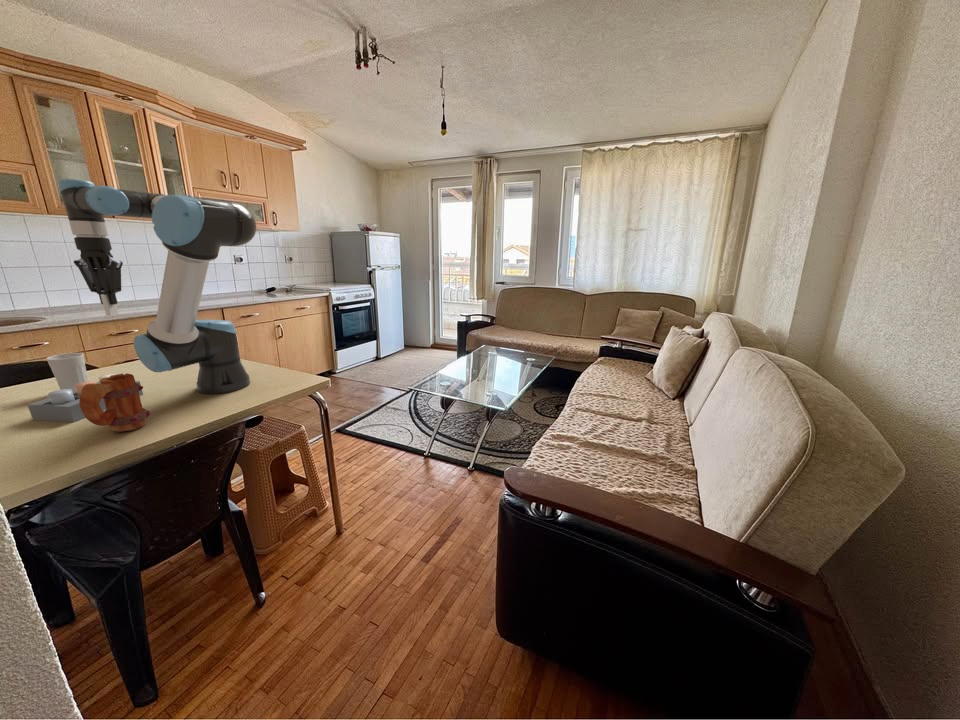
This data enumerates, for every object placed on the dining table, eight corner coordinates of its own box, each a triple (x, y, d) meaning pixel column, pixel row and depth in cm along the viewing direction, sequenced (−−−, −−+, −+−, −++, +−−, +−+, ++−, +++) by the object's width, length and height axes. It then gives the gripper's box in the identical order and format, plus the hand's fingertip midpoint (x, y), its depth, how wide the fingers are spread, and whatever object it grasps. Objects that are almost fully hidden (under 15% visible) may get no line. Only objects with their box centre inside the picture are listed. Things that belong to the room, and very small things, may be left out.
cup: (70, 397, 116) (58, 360, 112) (51, 394, 117) (39, 358, 114) (100, 388, 123) (90, 353, 120) (81, 385, 125) (71, 351, 121)
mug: (128, 420, 102) (114, 368, 97) (160, 419, 103) (147, 368, 98) (77, 447, 88) (58, 388, 84) (114, 446, 89) (97, 388, 84)
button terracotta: (105, 396, 111) (100, 381, 110) (89, 402, 107) (84, 386, 106) (91, 396, 111) (86, 380, 110) (75, 402, 107) (70, 386, 106)
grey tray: (143, 394, 119) (139, 381, 118) (74, 422, 100) (69, 406, 99) (108, 392, 120) (104, 379, 118) (32, 419, 101) (27, 404, 99)
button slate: (81, 405, 105) (76, 389, 104) (64, 412, 101) (58, 395, 99) (67, 405, 105) (61, 388, 104) (49, 411, 101) (43, 394, 100)
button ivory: (126, 389, 117) (122, 374, 116) (112, 394, 113) (107, 379, 112) (113, 388, 118) (109, 373, 116) (98, 393, 113) (94, 378, 112)
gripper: (124, 237, 114) (143, 313, 121) (82, 236, 114) (103, 312, 121) (100, 236, 107) (121, 317, 114) (55, 235, 107) (79, 316, 114)
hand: (112, 314), depth 117 cm, fingers closed
